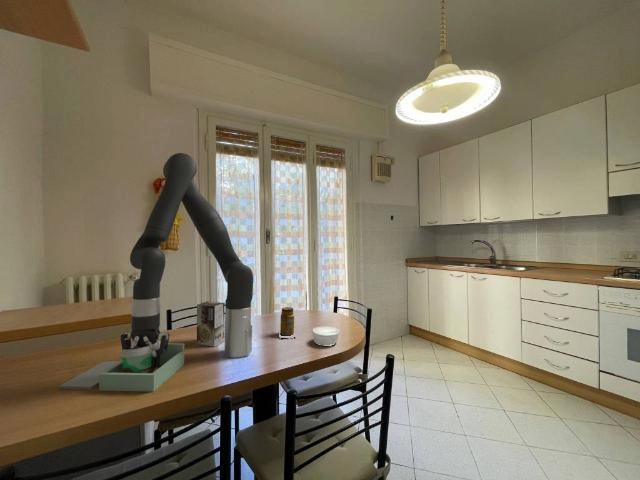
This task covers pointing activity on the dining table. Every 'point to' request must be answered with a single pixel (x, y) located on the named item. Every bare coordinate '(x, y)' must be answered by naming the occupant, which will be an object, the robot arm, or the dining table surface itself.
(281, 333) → the condiment
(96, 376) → the slate tile
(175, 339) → the dining table surface
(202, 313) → the coffee box
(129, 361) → the food container
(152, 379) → the pale green open box
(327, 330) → the ramekin
